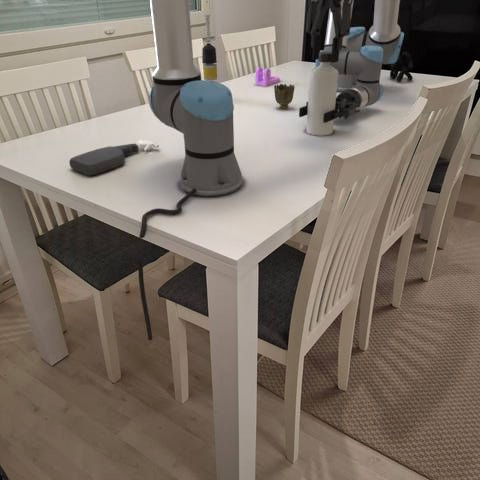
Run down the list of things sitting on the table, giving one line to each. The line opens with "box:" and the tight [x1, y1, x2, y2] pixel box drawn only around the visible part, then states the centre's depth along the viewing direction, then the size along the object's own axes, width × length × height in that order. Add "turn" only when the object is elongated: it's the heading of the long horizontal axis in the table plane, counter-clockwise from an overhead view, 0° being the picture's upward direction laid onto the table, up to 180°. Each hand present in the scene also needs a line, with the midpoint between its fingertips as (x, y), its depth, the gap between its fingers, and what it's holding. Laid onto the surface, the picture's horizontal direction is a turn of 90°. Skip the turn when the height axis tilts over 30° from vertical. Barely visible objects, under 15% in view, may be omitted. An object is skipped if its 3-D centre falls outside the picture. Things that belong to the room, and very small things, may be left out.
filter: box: [201, 14, 218, 82], centre depth 171 cm, size 6×6×30 cm
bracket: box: [254, 66, 280, 87], centre depth 199 cm, size 13×6×7 cm, turn 143°
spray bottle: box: [68, 139, 160, 177], centre depth 124 cm, size 3×11×24 cm
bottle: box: [305, 62, 338, 137], centre depth 137 cm, size 8×8×23 cm
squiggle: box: [386, 51, 414, 83], centre depth 198 cm, size 11×10×15 cm
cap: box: [318, 52, 332, 62], centre depth 131 cm, size 4×4×2 cm
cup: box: [273, 83, 296, 110], centre depth 163 cm, size 8×7×8 cm
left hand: (325, 60), depth 131 cm, fingers open, 6 cm apart
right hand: (312, 115), depth 137 cm, fingers closed on bottle, 8 cm apart
